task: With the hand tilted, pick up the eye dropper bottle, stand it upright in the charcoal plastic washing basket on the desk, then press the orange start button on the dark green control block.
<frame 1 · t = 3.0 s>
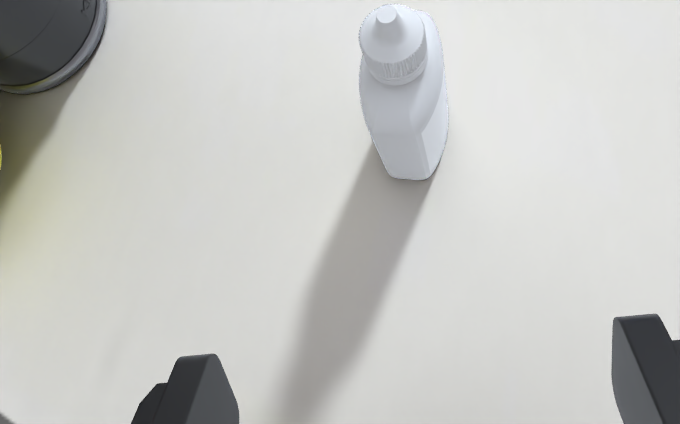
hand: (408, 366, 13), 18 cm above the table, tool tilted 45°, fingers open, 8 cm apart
eye dropper bottle: (415, 131, 33), on the table
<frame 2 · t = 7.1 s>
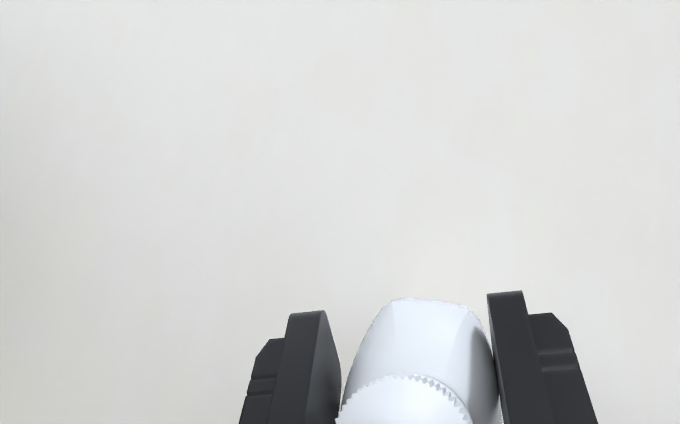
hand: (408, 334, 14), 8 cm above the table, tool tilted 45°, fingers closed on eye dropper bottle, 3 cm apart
eye dropper bottle: (437, 404, 21), on the table, touching gripper
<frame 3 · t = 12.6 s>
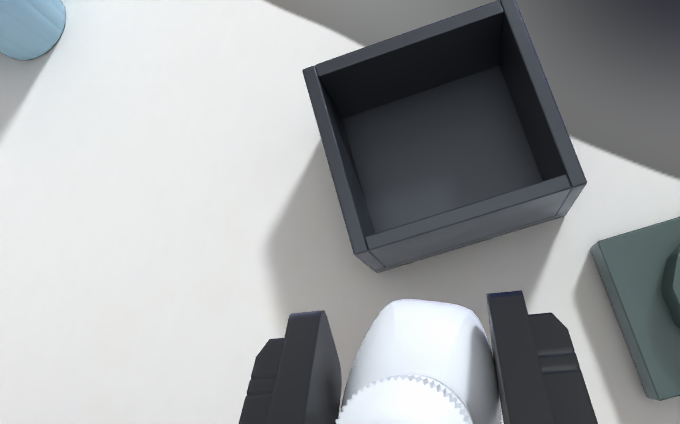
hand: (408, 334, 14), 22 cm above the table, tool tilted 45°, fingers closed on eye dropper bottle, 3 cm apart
cup: (33, 26, 45), on the table
eye dropper bottle: (437, 404, 21), point 14 cm above the table, touching gripper
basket: (442, 164, 37), on the table
when the fingers open (9 cm above the table, at t = 18.1 s): eye dropper bottle stays where it is, resting on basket.
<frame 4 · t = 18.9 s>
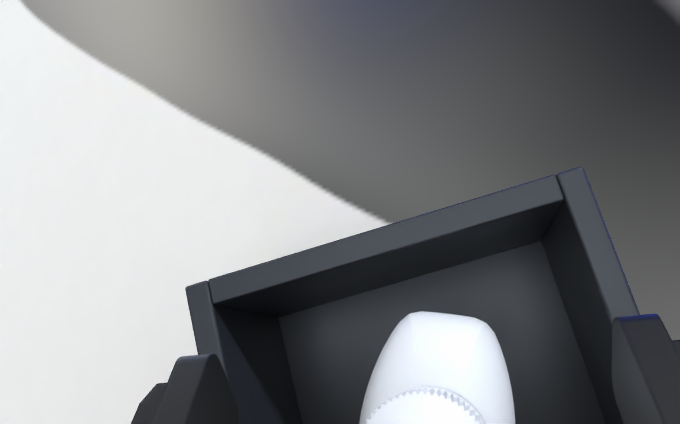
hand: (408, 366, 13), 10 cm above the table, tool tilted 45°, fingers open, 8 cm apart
eye dropper bottle: (448, 411, 21), point 1 cm above the table, touching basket
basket: (443, 401, 22), on the table
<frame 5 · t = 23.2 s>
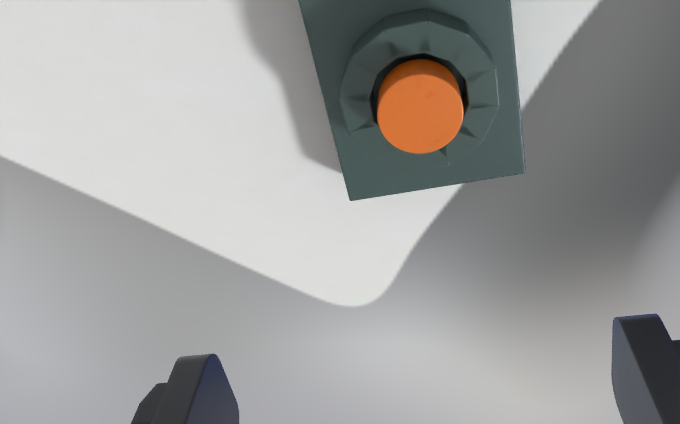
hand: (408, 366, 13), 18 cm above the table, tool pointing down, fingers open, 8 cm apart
control block: (416, 67, 28), on the table
start button: (419, 106, 24), point 4 cm above the table, slide at 0.1 cm
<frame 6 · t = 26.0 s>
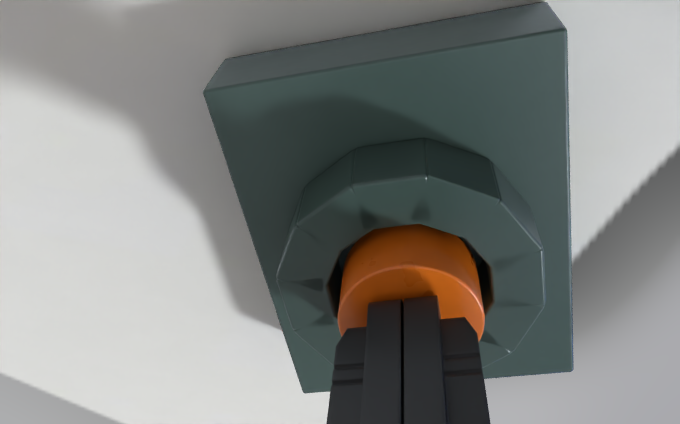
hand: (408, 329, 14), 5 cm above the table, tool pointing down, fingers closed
control block: (408, 202, 18), on the table
start button: (409, 298, 15), point 4 cm above the table, slide at -0.2 cm, touching gripper
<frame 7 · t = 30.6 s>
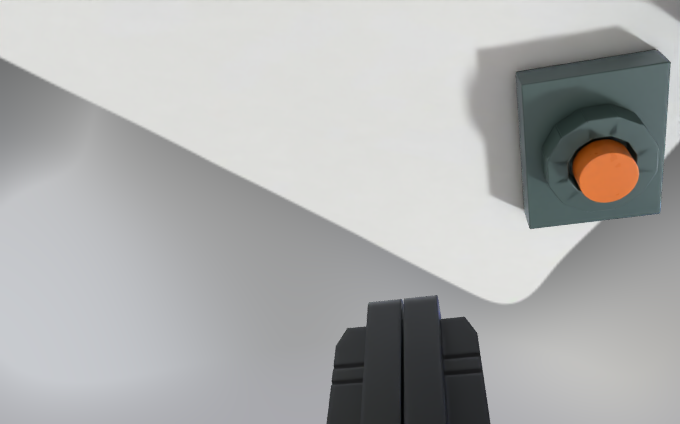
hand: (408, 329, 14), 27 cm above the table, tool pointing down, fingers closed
control block: (585, 136, 40), on the table
start button: (604, 171, 36), point 4 cm above the table, slide at 0.1 cm
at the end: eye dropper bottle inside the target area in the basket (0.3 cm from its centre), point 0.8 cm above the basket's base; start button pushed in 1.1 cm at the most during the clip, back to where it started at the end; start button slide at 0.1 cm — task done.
